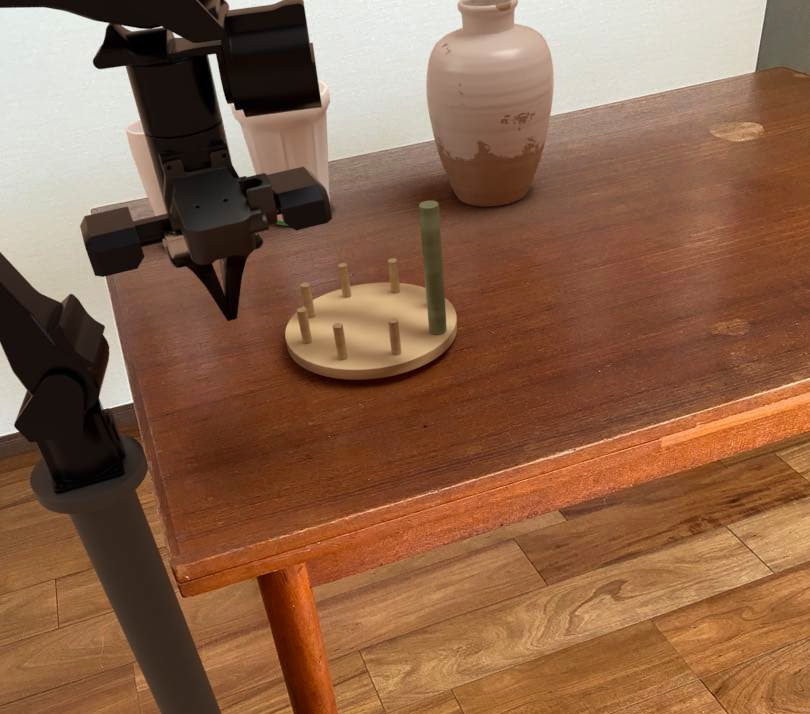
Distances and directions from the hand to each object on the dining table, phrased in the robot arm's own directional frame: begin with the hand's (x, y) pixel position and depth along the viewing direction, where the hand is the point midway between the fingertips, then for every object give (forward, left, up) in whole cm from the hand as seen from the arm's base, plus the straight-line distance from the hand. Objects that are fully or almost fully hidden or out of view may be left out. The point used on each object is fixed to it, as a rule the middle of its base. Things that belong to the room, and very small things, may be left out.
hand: (231, 318), depth 75 cm
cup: (+17, +48, -12) cm, 52 cm away
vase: (+42, +40, -12) cm, 59 cm away
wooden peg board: (+15, +11, -12) cm, 22 cm away
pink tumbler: (+1, +47, -12) cm, 49 cm away
